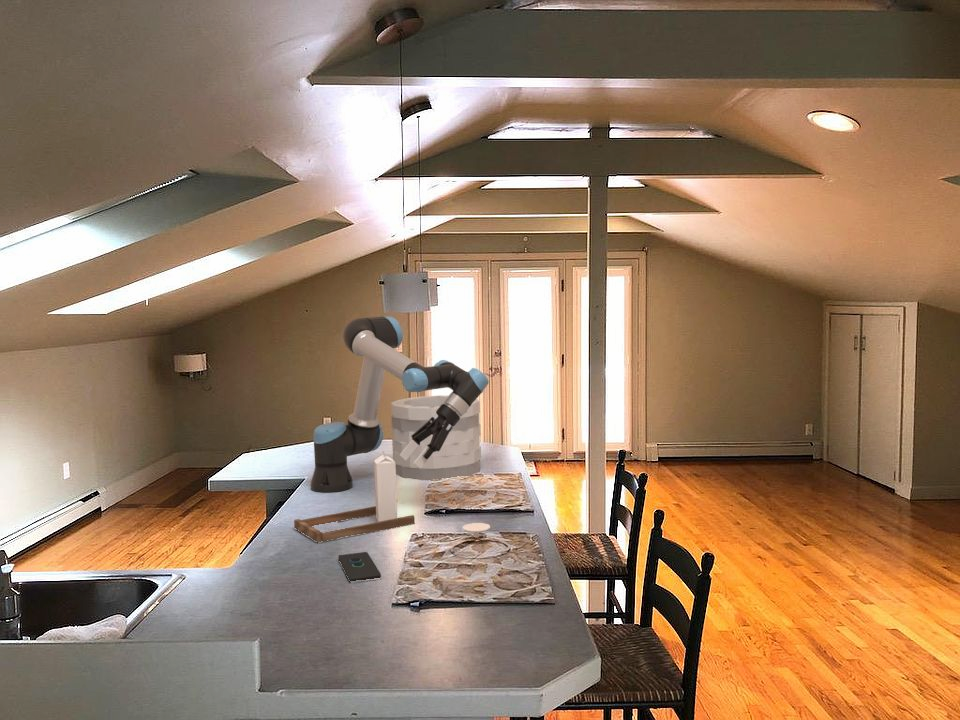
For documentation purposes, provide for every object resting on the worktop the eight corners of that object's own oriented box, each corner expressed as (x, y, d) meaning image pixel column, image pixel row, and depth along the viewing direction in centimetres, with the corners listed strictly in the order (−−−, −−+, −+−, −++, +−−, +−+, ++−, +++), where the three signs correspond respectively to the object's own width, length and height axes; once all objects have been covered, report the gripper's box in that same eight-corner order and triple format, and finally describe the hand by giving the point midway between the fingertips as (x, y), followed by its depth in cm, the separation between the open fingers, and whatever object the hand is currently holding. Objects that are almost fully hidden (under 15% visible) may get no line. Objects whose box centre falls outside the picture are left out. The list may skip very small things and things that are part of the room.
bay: (294, 529, 261) (294, 519, 261) (387, 511, 279) (387, 502, 278) (317, 543, 246) (317, 533, 246) (414, 523, 264) (414, 514, 264)
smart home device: (367, 551, 234) (382, 574, 215) (367, 557, 235) (382, 581, 216) (337, 554, 232) (349, 578, 213) (337, 561, 232) (349, 585, 213)
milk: (394, 517, 272) (392, 448, 270) (397, 522, 266) (395, 452, 264) (375, 518, 271) (373, 450, 269) (378, 523, 265) (376, 453, 263)
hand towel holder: (452, 546, 228) (445, 524, 248) (452, 562, 228) (446, 539, 248) (514, 542, 230) (503, 520, 250) (515, 558, 230) (503, 535, 250)
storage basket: (482, 459, 355) (480, 394, 352) (480, 479, 320) (478, 407, 317) (398, 461, 356) (396, 396, 353) (387, 481, 321) (384, 409, 318)
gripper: (475, 423, 264) (431, 476, 259) (445, 412, 287) (404, 461, 282) (459, 407, 261) (414, 461, 257) (430, 398, 284) (388, 447, 279)
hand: (409, 461), depth 269 cm, fingers open, 13 cm apart
